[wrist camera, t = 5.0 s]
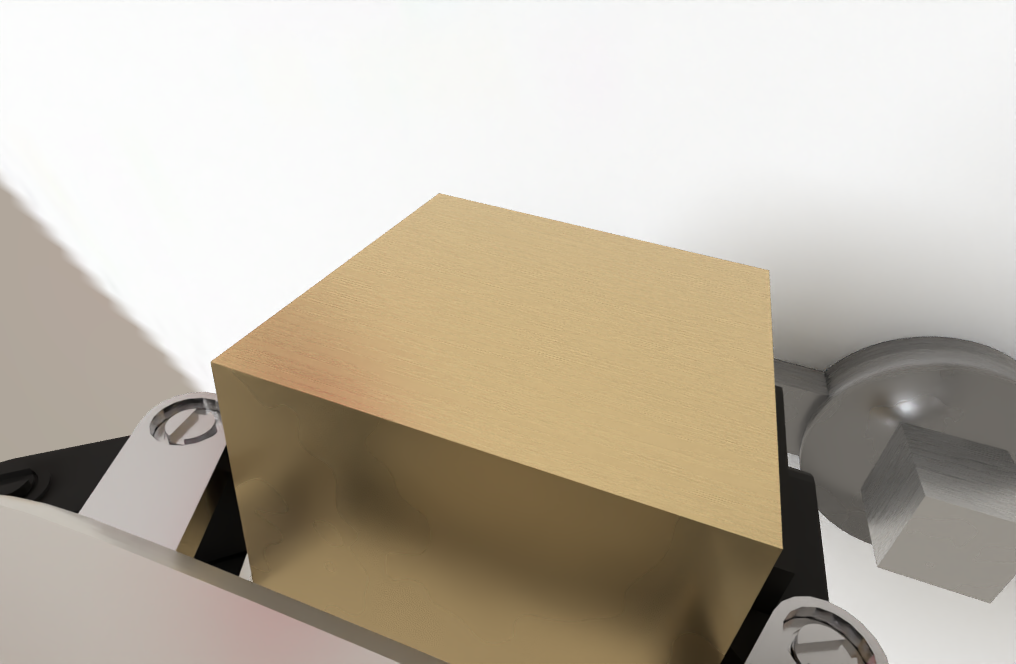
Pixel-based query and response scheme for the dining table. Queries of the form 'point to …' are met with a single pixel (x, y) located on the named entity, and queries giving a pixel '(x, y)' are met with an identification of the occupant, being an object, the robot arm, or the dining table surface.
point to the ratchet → (914, 456)
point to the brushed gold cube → (514, 442)
